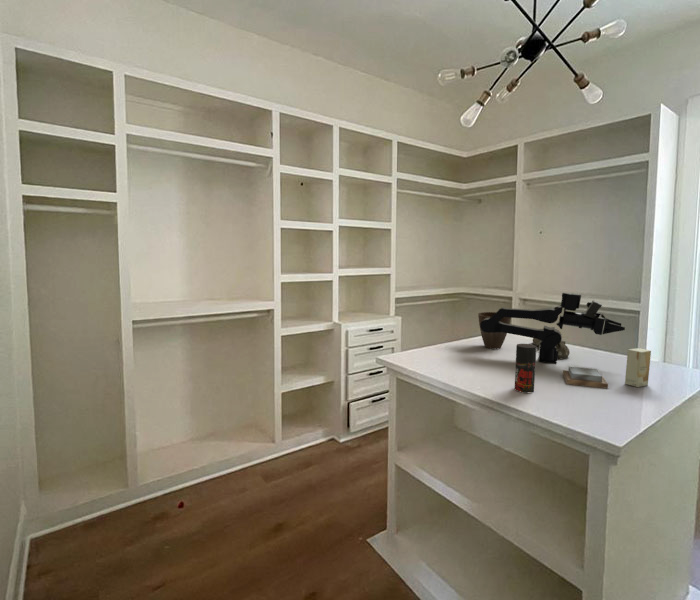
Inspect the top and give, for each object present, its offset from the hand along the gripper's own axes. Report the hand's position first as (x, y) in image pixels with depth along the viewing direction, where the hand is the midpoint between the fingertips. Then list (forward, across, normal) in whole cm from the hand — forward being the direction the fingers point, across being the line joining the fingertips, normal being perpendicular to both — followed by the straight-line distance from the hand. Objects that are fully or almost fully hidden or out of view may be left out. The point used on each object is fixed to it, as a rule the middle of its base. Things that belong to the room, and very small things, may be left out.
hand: (623, 326), depth 152 cm
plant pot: (-47, +16, +22) cm, 54 cm away
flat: (-23, +22, +20) cm, 37 cm away
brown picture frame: (-11, -23, +18) cm, 31 cm away
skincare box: (+4, -19, +17) cm, 26 cm away
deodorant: (-29, -43, +20) cm, 56 cm away
